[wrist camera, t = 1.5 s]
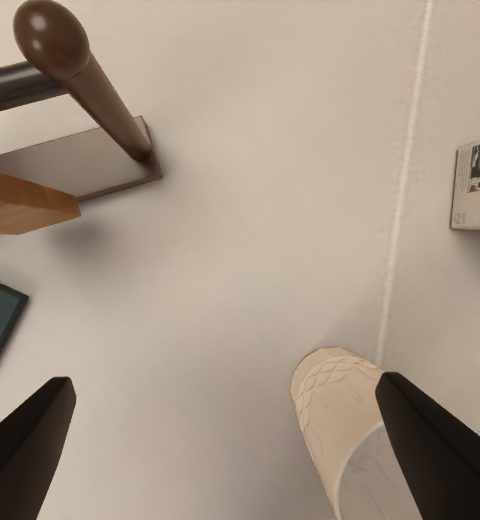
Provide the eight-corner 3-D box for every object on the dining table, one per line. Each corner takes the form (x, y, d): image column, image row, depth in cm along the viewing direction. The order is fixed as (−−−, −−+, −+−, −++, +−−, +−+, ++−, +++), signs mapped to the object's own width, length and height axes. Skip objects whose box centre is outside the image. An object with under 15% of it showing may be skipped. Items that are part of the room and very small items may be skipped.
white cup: (262, 383, 23) (300, 490, 14) (337, 318, 24) (429, 376, 14) (322, 451, 24) (399, 598, 14) (394, 388, 25) (519, 490, 15)
